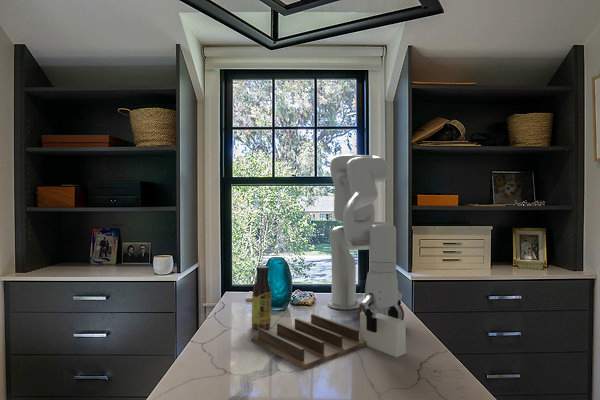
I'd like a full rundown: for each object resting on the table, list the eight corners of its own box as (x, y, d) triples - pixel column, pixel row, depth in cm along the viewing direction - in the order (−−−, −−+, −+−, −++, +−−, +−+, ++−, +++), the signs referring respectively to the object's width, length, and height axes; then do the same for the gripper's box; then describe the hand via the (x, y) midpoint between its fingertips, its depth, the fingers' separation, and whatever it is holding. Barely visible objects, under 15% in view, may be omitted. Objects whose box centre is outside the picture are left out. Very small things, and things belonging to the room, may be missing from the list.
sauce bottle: (261, 331, 119) (261, 269, 119) (247, 327, 122) (247, 267, 122) (275, 326, 124) (275, 266, 124) (261, 322, 128) (261, 264, 128)
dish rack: (311, 323, 127) (311, 311, 127) (366, 345, 108) (366, 331, 108) (251, 340, 111) (251, 327, 111) (303, 369, 93) (303, 353, 93)
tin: (403, 324, 126) (403, 300, 126) (404, 328, 123) (405, 302, 123) (358, 323, 128) (358, 298, 127) (358, 326, 124) (358, 301, 124)
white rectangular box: (368, 339, 113) (368, 310, 113) (405, 353, 103) (405, 321, 103) (359, 343, 110) (360, 312, 110) (396, 357, 100) (397, 324, 100)
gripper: (390, 262, 115) (390, 318, 114) (352, 268, 104) (352, 330, 103) (411, 265, 109) (411, 324, 109) (373, 272, 98) (373, 338, 97)
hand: (382, 327), depth 106 cm, fingers open, 9 cm apart
